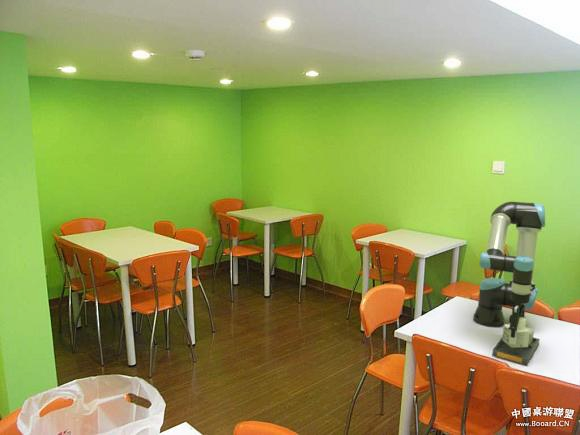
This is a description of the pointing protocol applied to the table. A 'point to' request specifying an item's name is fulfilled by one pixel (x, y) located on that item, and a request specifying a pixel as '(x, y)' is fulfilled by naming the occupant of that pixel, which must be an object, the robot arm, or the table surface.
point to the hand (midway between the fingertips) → (515, 339)
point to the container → (521, 333)
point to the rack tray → (515, 352)
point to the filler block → (530, 335)
